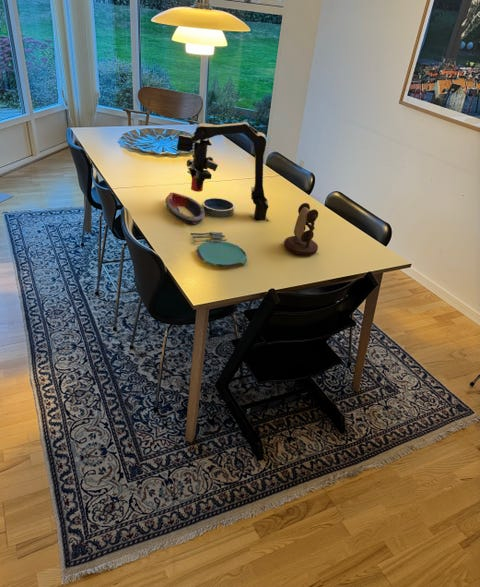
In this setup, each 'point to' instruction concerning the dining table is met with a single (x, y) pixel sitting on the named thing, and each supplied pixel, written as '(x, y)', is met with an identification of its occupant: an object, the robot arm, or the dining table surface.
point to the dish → (180, 200)
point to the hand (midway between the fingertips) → (197, 187)
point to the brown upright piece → (303, 232)
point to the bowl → (218, 207)
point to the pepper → (195, 185)
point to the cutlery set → (219, 251)
